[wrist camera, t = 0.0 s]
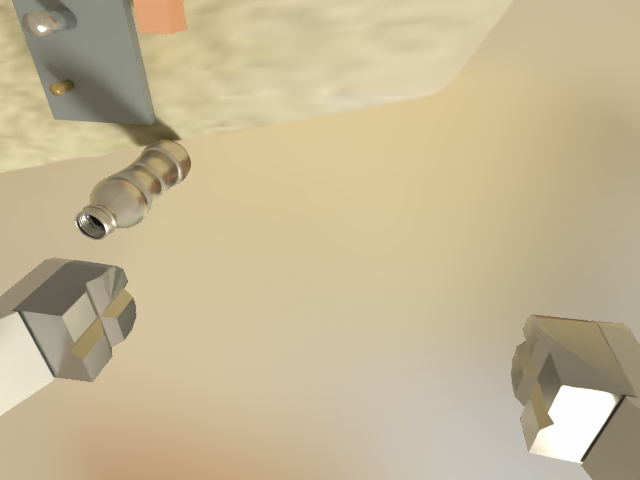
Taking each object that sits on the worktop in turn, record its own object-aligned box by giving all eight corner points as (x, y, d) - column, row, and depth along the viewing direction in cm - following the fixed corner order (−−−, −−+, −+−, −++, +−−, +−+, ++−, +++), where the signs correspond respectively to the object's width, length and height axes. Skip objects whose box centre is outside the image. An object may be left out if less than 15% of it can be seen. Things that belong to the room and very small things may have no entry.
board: (-3, -70, 50) (-14, -71, 48) (113, -71, 47) (105, -72, 46) (61, 116, 62) (54, 119, 61) (156, 121, 60) (150, 125, 58)
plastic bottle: (150, 131, 61) (54, 195, 44) (194, 138, 60) (114, 206, 44) (155, 171, 64) (68, 244, 48) (197, 179, 64) (124, 255, 47)
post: (58, 4, 52) (21, 9, 47) (77, 13, 52) (42, 18, 47) (57, 84, 57) (24, 95, 53) (74, 91, 58) (43, 104, 53)
